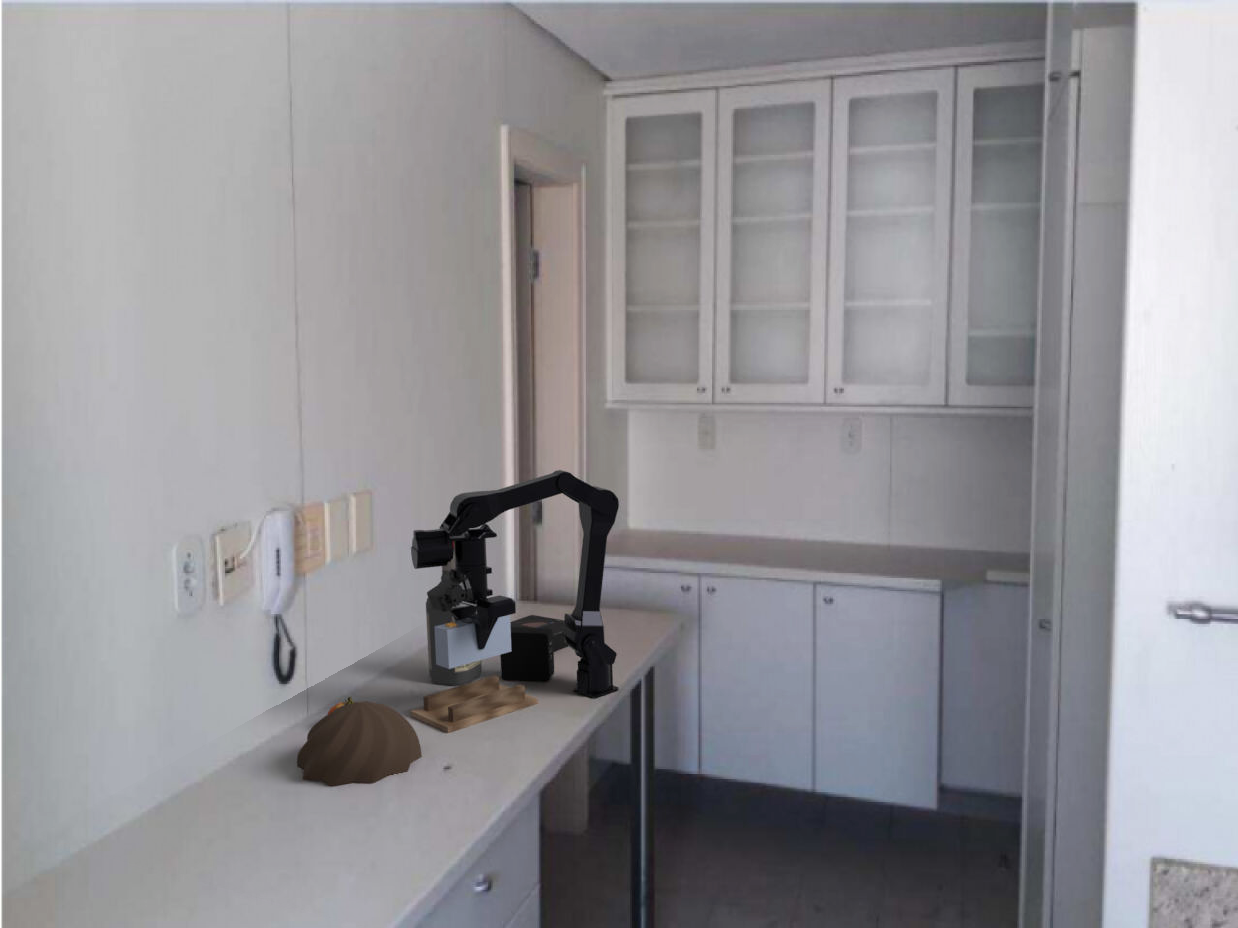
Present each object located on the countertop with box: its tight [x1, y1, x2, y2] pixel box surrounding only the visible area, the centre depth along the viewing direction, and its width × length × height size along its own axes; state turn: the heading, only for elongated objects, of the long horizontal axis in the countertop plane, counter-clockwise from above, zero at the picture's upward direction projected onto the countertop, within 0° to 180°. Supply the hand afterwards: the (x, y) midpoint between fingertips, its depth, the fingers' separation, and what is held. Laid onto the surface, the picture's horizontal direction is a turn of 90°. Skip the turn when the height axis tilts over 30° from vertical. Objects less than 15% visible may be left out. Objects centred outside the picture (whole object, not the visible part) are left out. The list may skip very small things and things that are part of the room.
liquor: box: [425, 541, 483, 687], centre depth 202 cm, size 9×9×30 cm
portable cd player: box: [510, 614, 569, 653], centre depth 228 cm, size 16×17×4 cm
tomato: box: [327, 696, 355, 715], centre depth 178 cm, size 8×7×7 cm
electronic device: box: [499, 627, 555, 683], centre depth 202 cm, size 4×10×10 cm, turn 78°
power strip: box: [434, 615, 511, 669], centre depth 183 cm, size 14×4×7 cm, turn 134°
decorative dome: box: [296, 701, 422, 788], centre depth 162 cm, size 19×20×10 cm
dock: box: [410, 675, 539, 734], centre depth 185 cm, size 20×12×4 cm, turn 134°
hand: (474, 646), depth 183 cm, fingers closed on power strip, 4 cm apart
